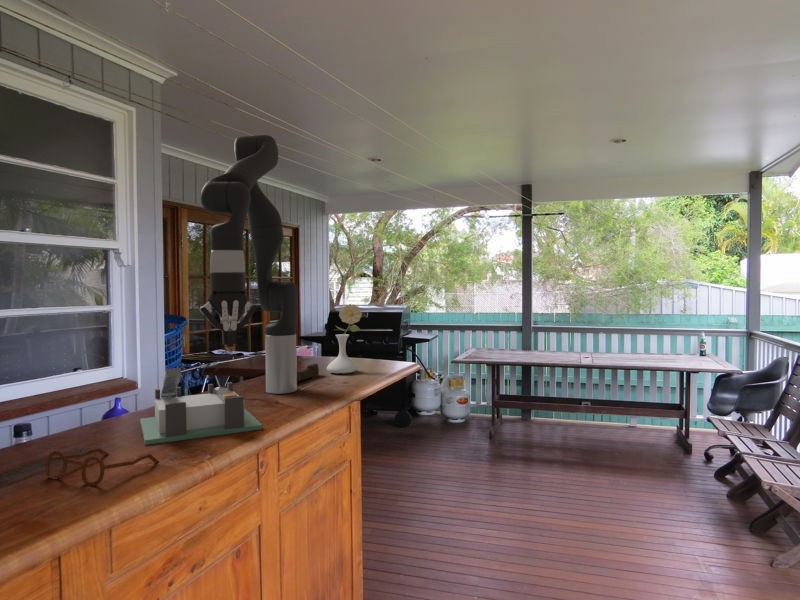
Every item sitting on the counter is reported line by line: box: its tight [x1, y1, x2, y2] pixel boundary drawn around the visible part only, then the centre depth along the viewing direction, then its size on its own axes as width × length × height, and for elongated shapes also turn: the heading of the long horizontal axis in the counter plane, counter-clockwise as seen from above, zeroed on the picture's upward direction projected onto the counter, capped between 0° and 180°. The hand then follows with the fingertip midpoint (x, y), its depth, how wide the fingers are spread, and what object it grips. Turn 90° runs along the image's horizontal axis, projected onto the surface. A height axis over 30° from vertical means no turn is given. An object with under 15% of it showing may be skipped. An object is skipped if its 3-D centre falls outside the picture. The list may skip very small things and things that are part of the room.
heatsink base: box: [139, 381, 263, 446], centre depth 124 cm, size 20×24×8 cm
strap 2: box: [213, 386, 238, 401], centre depth 127 cm, size 16×3×2 cm, turn 28°
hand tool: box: [297, 363, 320, 383], centre depth 181 cm, size 19×4×5 cm, turn 157°
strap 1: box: [160, 367, 182, 398], centre depth 122 cm, size 16×3×2 cm, turn 28°
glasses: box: [44, 447, 160, 487], centre depth 96 cm, size 13×13×5 cm
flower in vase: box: [326, 303, 363, 374], centre depth 194 cm, size 13×11×25 cm
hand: (229, 346), depth 123 cm, fingers closed
